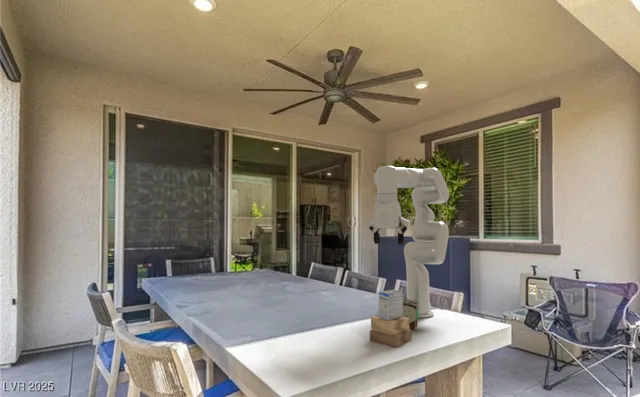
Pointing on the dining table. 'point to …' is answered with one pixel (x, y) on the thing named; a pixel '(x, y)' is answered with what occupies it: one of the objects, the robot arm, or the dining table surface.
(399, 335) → the tower base block
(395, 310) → the medicine box
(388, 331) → the tower top block
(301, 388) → the dining table surface
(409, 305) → the food container
